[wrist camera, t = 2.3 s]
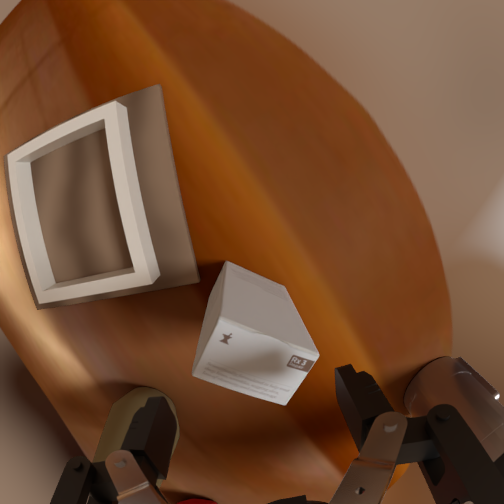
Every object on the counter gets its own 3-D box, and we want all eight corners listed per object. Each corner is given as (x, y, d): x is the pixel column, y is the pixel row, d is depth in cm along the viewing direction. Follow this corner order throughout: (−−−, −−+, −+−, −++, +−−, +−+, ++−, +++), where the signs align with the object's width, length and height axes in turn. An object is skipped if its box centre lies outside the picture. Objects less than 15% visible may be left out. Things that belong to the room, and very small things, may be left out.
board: (161, 86, 22) (159, 83, 21) (200, 279, 26) (199, 282, 25) (7, 156, 22) (3, 155, 21) (40, 307, 26) (37, 309, 25)
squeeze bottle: (146, 431, 30) (110, 543, 13) (107, 386, 28) (44, 500, 11) (198, 418, 30) (177, 551, 12) (159, 370, 28) (103, 511, 10)
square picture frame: (126, 107, 21) (115, 100, 19) (160, 275, 25) (152, 284, 22) (22, 155, 22) (7, 154, 19) (51, 295, 25) (39, 304, 23)
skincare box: (207, 299, 26) (183, 379, 14) (227, 256, 25) (212, 314, 14) (268, 324, 27) (283, 412, 15) (289, 283, 26) (322, 356, 14)
